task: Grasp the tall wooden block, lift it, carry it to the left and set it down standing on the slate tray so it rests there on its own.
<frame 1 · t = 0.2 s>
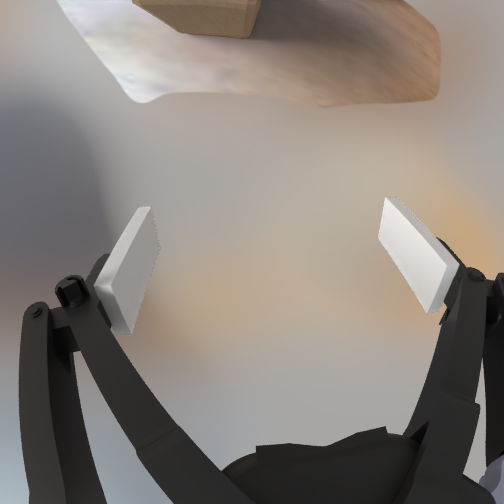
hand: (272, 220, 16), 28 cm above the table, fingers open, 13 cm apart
wooden block: (218, 4, 29), on the table
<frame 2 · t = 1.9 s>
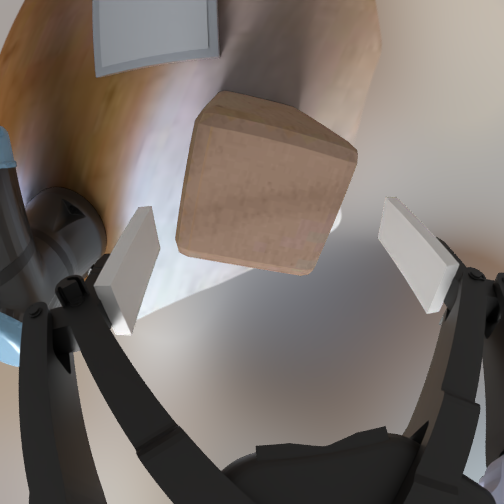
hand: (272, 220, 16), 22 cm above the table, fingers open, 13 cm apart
wooden block: (249, 136, 34), on the table
slate tray: (157, 13, 24), on the table
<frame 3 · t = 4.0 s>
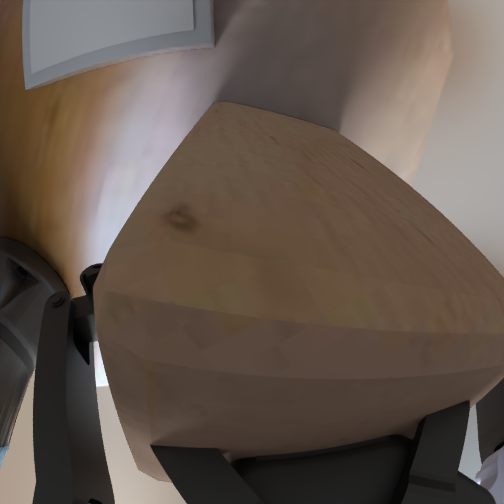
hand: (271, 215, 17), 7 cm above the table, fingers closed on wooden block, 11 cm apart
wooden block: (261, 172, 23), on the table, touching gripper
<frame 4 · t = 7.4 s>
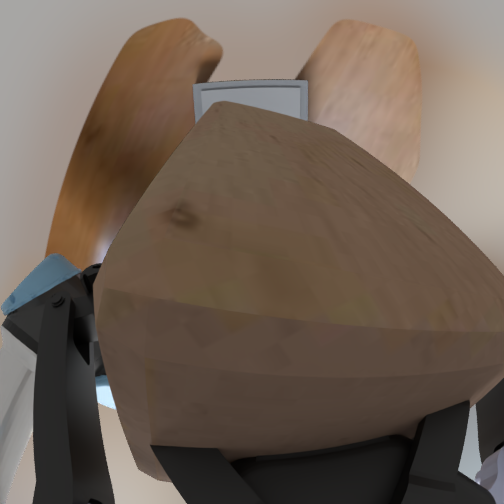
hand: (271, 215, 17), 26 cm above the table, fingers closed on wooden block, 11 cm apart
wooden block: (262, 172, 23), point 18 cm above the table, touching gripper
slate tray: (251, 129, 38), on the table
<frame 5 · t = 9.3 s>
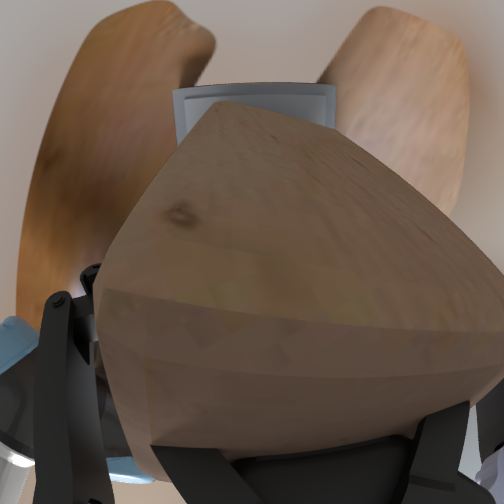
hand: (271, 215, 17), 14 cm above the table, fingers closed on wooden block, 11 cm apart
wooden block: (262, 172, 23), point 7 cm above the table, touching gripper
slate tray: (255, 151, 28), on the table
when the fingers open (12 cm above the table, at t = 11.0 s): wooden block drops 1 cm, resting on slate tray.
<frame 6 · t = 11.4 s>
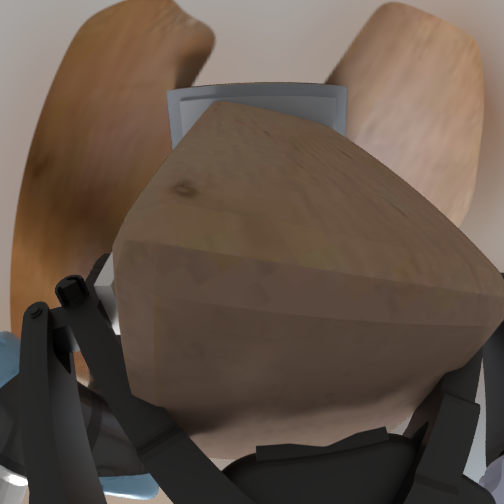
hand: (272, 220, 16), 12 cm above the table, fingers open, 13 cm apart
wooden block: (260, 168, 24), point 3 cm above the table, touching slate tray
slate tray: (258, 157, 26), on the table
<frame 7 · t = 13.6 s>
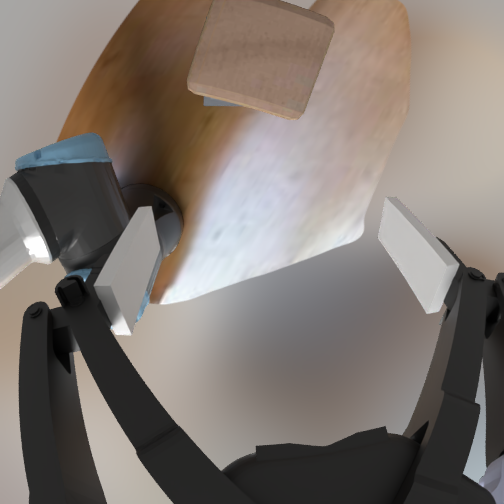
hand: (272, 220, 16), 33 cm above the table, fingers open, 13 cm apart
wooden block: (254, 61, 35), point 3 cm above the table, touching slate tray
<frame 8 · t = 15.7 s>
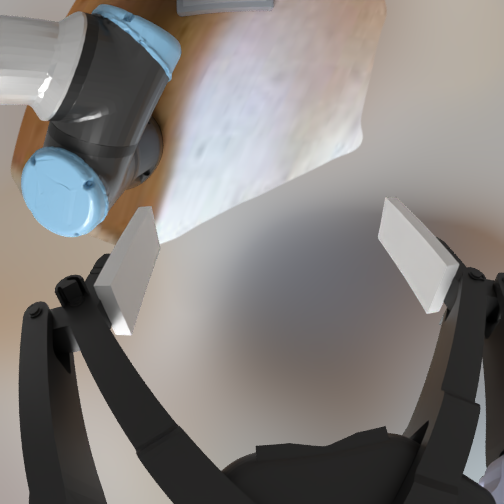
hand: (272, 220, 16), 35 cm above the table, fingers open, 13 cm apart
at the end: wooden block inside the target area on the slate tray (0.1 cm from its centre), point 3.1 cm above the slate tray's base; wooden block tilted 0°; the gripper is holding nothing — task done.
